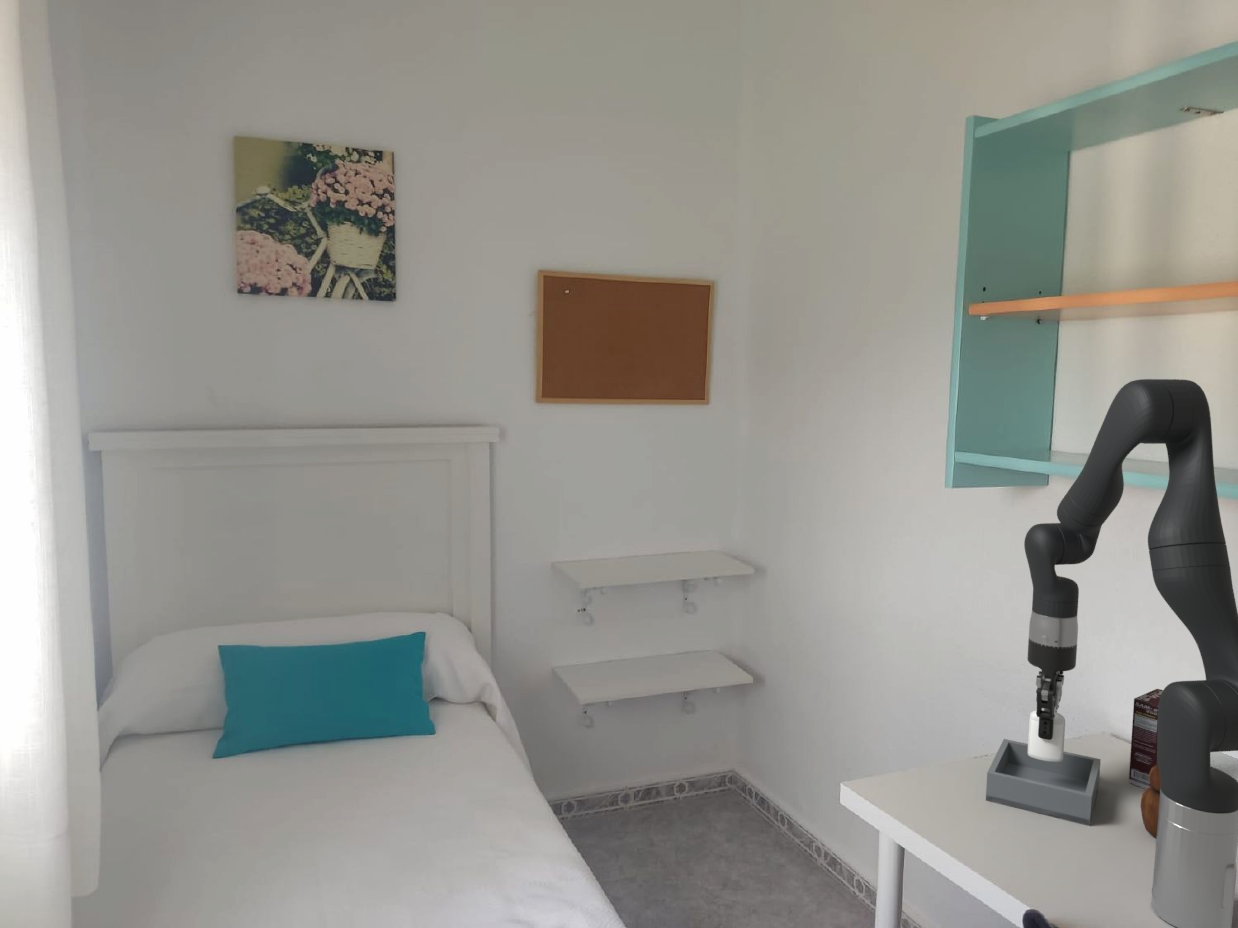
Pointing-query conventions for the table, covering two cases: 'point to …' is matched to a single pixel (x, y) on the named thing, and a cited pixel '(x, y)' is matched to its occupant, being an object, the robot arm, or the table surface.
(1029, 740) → the eye dropper bottle
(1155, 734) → the supplement box
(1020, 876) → the table surface
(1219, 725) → the robot arm
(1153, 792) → the wooden figurine
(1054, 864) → the table surface
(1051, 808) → the box
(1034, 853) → the table surface
